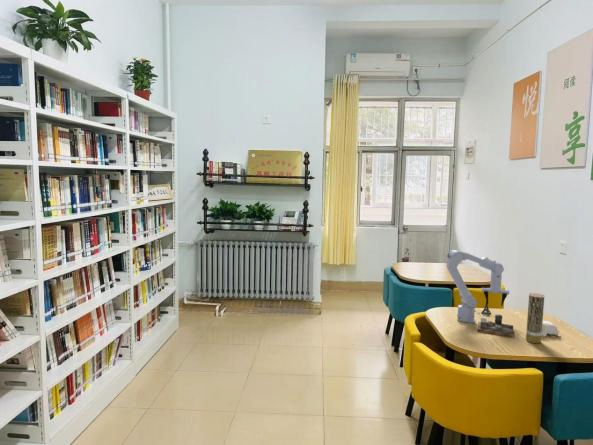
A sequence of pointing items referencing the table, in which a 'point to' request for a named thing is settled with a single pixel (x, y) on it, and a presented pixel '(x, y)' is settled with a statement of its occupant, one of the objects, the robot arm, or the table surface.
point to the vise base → (490, 328)
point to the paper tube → (535, 317)
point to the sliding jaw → (498, 321)
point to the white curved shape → (549, 328)
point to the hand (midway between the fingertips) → (494, 304)
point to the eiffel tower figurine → (486, 311)
